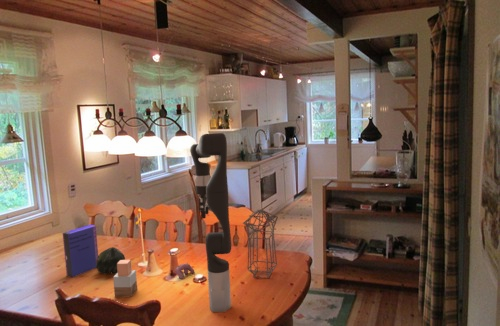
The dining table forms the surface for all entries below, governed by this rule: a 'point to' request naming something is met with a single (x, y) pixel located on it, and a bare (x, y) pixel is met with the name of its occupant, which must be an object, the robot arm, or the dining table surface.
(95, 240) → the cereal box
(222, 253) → the robot arm
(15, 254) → the dining table surface
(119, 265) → the beige block
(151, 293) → the dining table surface
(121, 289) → the tower bottom
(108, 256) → the squash
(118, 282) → the tower top
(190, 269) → the video game controller
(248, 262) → the geometric lantern
